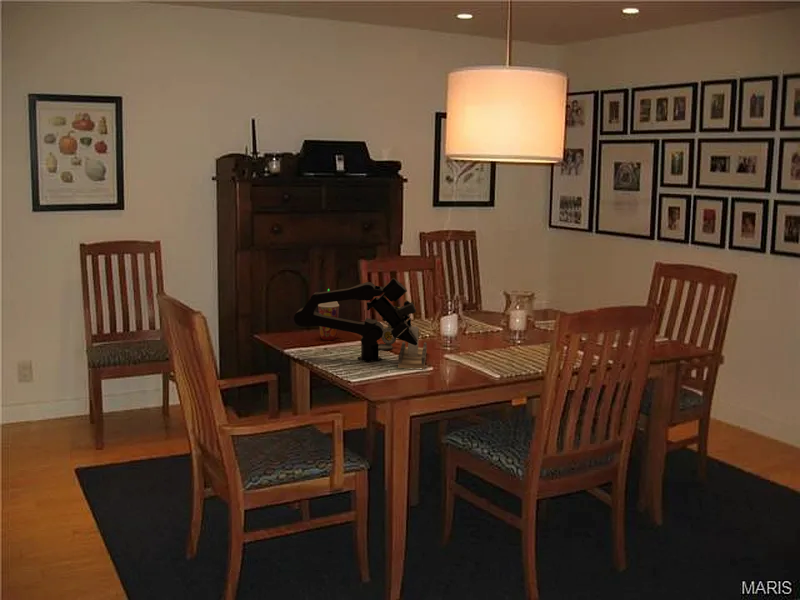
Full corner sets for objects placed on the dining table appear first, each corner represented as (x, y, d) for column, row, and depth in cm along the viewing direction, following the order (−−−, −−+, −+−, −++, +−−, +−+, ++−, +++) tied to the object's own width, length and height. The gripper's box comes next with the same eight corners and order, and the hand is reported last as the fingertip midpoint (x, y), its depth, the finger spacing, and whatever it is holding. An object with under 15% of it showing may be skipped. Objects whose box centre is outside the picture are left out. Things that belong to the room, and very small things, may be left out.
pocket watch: (375, 350, 323) (375, 324, 321) (374, 345, 331) (375, 319, 329) (396, 350, 323) (397, 324, 321) (396, 345, 332) (396, 320, 330)
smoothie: (319, 336, 345) (319, 287, 342) (340, 336, 345) (340, 287, 341) (316, 340, 337) (316, 290, 334) (337, 341, 337) (338, 291, 333)
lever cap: (407, 356, 306) (408, 329, 304) (408, 353, 311) (408, 326, 309) (419, 357, 306) (420, 329, 304) (420, 353, 311) (420, 326, 309)
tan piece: (424, 369, 297) (424, 358, 296) (398, 368, 297) (398, 357, 297) (426, 352, 320) (426, 342, 320) (402, 352, 321) (402, 341, 320)
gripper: (401, 299, 296) (432, 332, 297) (404, 290, 314) (434, 321, 315) (378, 321, 298) (409, 353, 299) (382, 311, 316) (412, 341, 317)
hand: (417, 341), depth 308 cm, fingers open, 9 cm apart
